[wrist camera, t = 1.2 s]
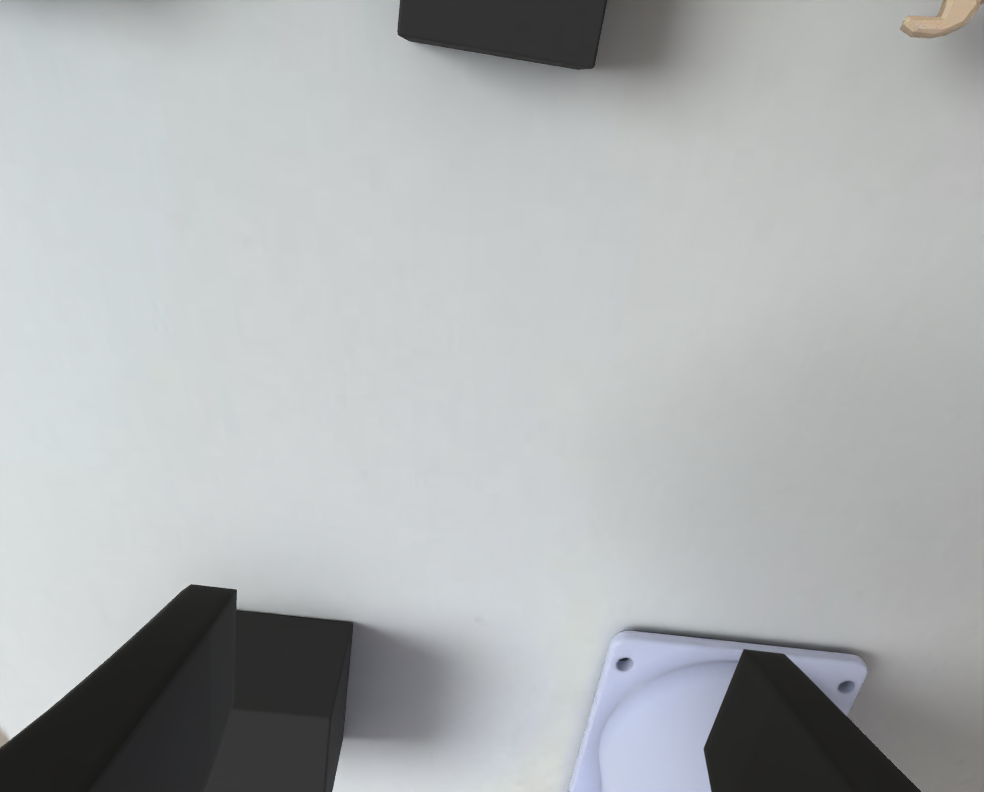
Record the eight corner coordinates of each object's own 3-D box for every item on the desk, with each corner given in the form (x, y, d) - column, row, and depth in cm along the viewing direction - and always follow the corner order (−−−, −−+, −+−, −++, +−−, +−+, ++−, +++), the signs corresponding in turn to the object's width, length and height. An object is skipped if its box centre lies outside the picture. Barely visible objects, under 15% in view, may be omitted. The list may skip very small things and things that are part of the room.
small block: (342, 739, 23) (321, 846, 20) (186, 725, 23) (138, 831, 20) (353, 622, 21) (331, 718, 18) (182, 604, 21) (128, 700, 18)
